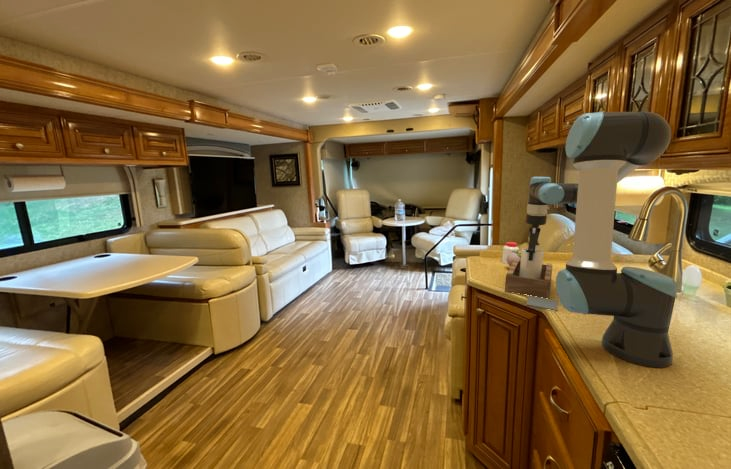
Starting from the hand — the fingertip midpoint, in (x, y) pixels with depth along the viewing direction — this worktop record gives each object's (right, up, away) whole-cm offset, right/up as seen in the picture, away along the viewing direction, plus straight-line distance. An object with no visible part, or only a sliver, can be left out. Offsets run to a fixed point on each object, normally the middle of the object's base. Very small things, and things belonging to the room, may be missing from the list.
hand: (530, 263), depth 141 cm
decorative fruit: (+4, -5, +24) cm, 25 cm away
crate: (0, -10, +2) cm, 10 cm away
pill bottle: (+7, -3, +36) cm, 37 cm away
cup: (0, -10, +2) cm, 10 cm away
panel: (-5, -14, -17) cm, 23 cm away
